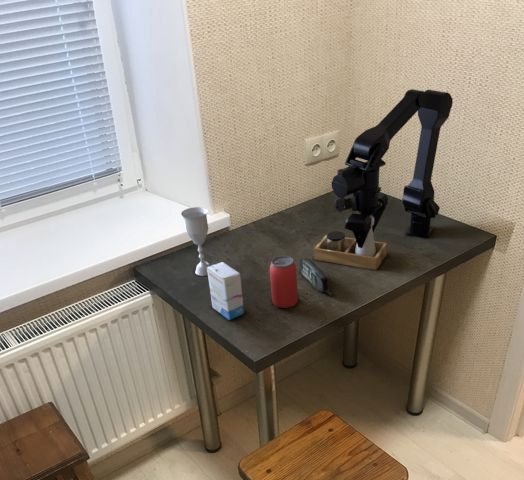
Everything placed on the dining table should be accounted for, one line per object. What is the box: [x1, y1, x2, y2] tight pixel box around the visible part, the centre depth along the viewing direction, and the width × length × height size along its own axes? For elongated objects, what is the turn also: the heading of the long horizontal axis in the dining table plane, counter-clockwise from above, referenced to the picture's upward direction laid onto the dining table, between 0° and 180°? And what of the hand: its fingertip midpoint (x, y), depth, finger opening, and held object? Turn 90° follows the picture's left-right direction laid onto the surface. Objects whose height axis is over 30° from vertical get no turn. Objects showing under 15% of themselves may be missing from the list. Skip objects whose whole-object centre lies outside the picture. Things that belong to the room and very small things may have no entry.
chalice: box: [180, 206, 211, 277], centre depth 156 cm, size 7×7×18 cm
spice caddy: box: [313, 233, 388, 271], centre depth 161 cm, size 10×18×4 cm, turn 63°
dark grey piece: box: [299, 257, 333, 296], centre depth 150 cm, size 5×3×15 cm
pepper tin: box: [326, 230, 346, 252], centre depth 162 cm, size 5×5×6 cm
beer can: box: [269, 255, 299, 309], centre depth 142 cm, size 7×7×12 cm
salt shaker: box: [354, 215, 376, 257], centre depth 156 cm, size 6×6×13 cm
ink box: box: [207, 261, 245, 321], centre depth 141 cm, size 9×5×12 cm, turn 35°
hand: (365, 240), depth 156 cm, fingers open, 9 cm apart
